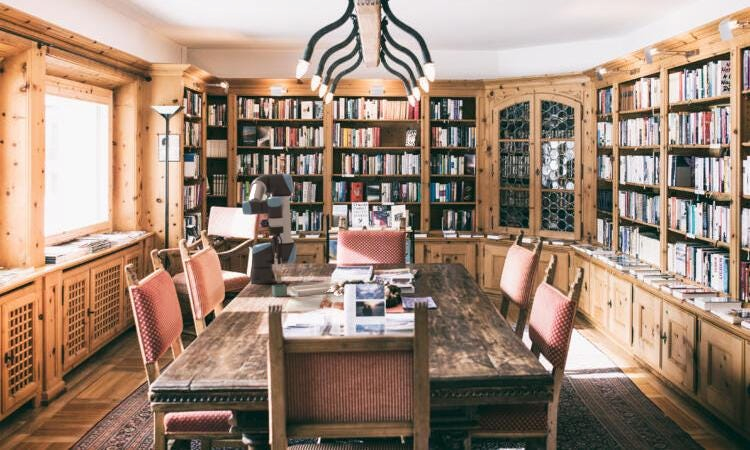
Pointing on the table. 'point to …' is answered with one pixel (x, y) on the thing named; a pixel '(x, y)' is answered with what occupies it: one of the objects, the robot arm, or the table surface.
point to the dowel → (278, 274)
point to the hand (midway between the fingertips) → (278, 269)
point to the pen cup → (279, 290)
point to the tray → (311, 289)
